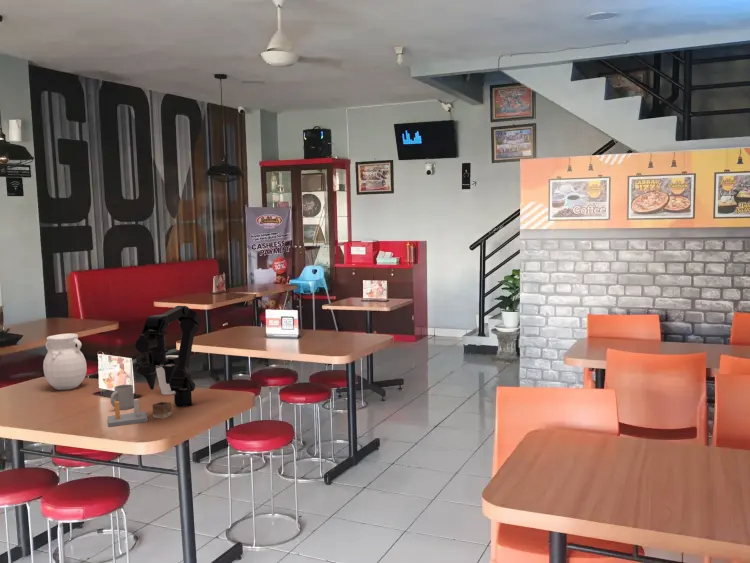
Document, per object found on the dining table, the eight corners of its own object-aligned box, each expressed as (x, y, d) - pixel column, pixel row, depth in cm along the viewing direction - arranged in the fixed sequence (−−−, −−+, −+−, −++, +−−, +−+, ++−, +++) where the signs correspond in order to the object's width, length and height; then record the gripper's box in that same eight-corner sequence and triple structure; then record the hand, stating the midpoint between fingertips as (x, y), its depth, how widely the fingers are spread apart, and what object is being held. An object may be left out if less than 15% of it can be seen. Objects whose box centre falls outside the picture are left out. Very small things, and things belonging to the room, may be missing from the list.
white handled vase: (35, 392, 302) (31, 339, 300) (61, 382, 320) (57, 332, 318) (72, 393, 299) (68, 339, 297) (95, 383, 317) (92, 332, 315)
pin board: (145, 415, 262) (144, 395, 261) (147, 421, 253) (146, 401, 252) (107, 420, 256) (106, 400, 255) (108, 427, 247) (107, 406, 246)
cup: (137, 406, 275) (136, 385, 274) (117, 412, 266) (115, 391, 265) (126, 404, 278) (125, 383, 278) (106, 410, 270) (104, 389, 269)
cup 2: (158, 390, 301) (157, 355, 300) (185, 388, 303) (183, 354, 301) (153, 396, 290) (151, 361, 288) (180, 395, 291) (178, 360, 289)
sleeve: (161, 413, 263) (160, 401, 262) (171, 414, 261) (171, 402, 261) (153, 417, 258) (152, 405, 258) (163, 418, 256) (162, 406, 256)
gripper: (157, 342, 269) (159, 379, 270) (124, 351, 252) (126, 391, 253) (179, 343, 265) (181, 381, 266) (147, 352, 247) (149, 393, 249)
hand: (160, 386), depth 259 cm, fingers open, 9 cm apart
